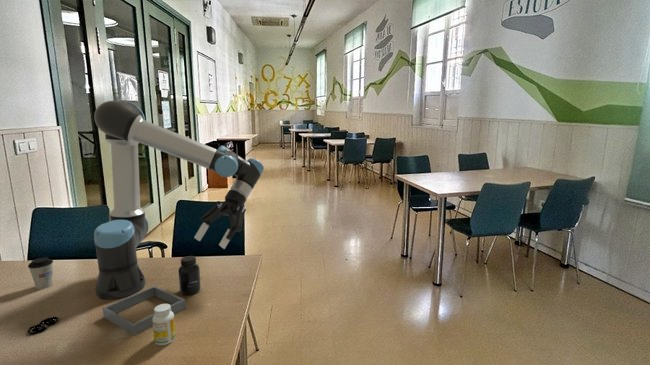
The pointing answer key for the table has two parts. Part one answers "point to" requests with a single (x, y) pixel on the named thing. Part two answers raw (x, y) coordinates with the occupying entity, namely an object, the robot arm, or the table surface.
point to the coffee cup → (41, 272)
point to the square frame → (145, 323)
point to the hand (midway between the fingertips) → (208, 243)
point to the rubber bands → (43, 324)
